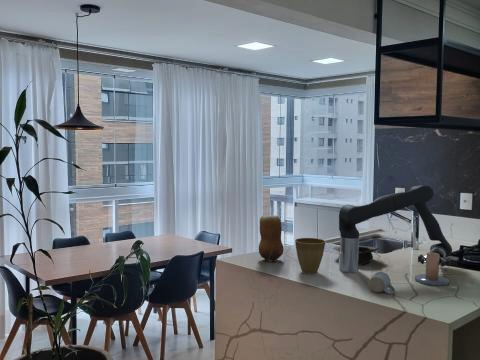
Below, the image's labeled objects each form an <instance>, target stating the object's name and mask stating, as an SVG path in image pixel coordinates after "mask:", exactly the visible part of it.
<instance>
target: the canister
mask: <svg viewBox="0 0 480 360" xmlns="http://www.w3.org/2000/svg"><path fill="white" fill-rule="evenodd" d="M439 255H440V254H438V253H434V252H430V251H429V252H426V256H427V257H426V263H425V274H426V276H425V278H426V279H428V280H438V276H439V271H440V265H439Z"/></svg>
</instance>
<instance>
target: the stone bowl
mask: <svg viewBox="0 0 480 360" xmlns="http://www.w3.org/2000/svg"><path fill="white" fill-rule="evenodd" d="M332 249H333V250H335V251H336V252H339V250H340V246H335V247H332ZM379 249H380V247H378V248H377V247H373V246H365V245H359V253H358V266H359V265H364V264H369V263H370V262H371V261H372V260H373V259H374V256H373V252H376V251H379Z"/></svg>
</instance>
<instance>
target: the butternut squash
mask: <svg viewBox="0 0 480 360" xmlns="http://www.w3.org/2000/svg"><path fill="white" fill-rule="evenodd" d="M282 231H283V230H282V220H281V218H280V217H279V216H278V215H276V214H275V215H272V214H271V215H266V214H265V215H262V216H260V218H259V234H260V241H259V243H258V254H259V255H260V257H261V258H263V259H264V260H266V261H269V262H276V261H277V260H278V259H280V257H281V256H282V255H283V254H284V245H283V242H282Z"/></svg>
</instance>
